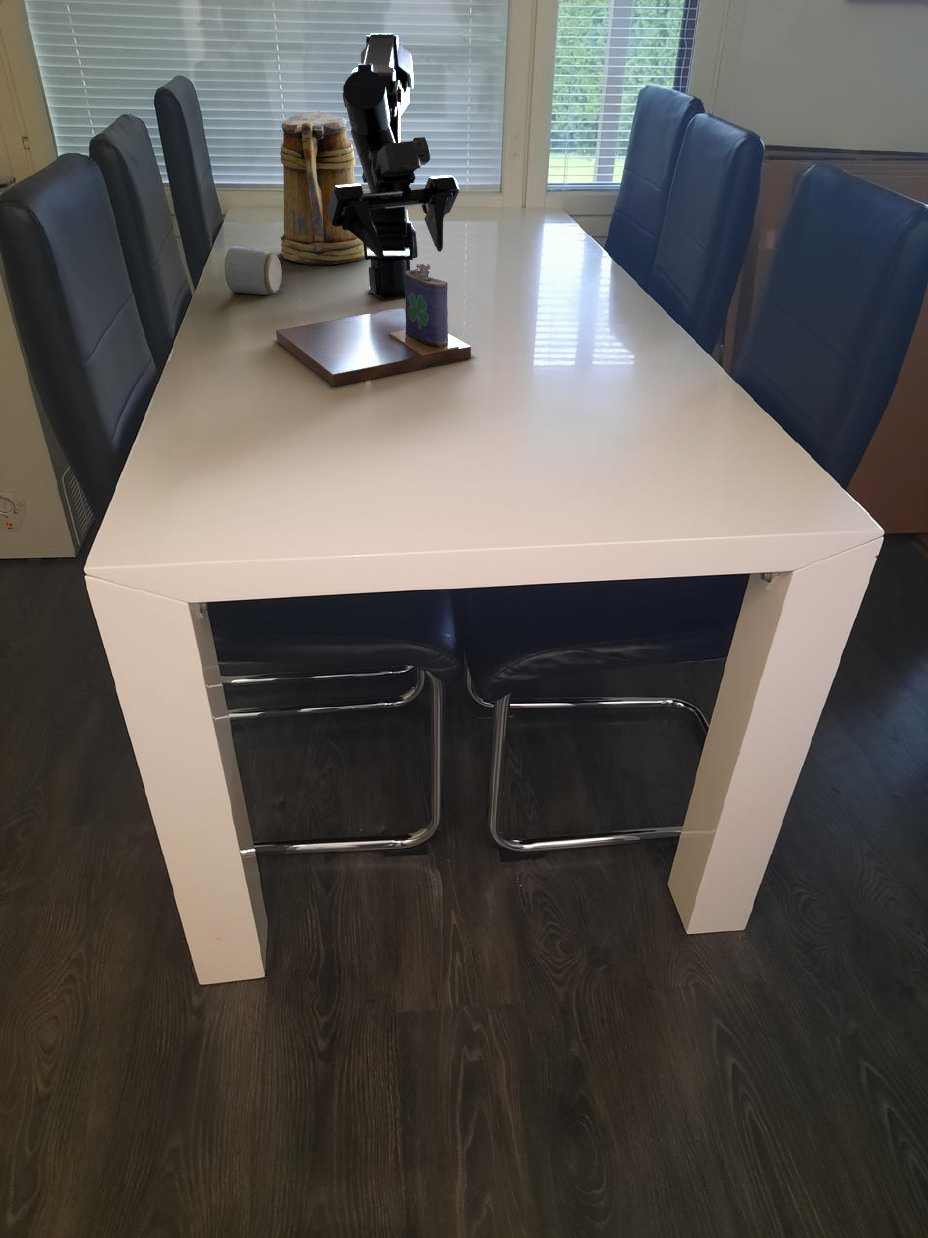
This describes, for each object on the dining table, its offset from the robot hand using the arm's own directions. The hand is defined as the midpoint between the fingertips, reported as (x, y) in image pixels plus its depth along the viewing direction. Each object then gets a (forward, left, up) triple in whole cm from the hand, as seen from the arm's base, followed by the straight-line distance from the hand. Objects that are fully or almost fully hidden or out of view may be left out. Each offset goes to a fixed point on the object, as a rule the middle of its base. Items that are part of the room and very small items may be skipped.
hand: (411, 253), depth 123 cm
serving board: (+6, -2, -13) cm, 15 cm away
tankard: (-10, -57, -14) cm, 59 cm away
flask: (0, +4, -12) cm, 12 cm away
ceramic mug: (+10, -41, -14) cm, 44 cm away
